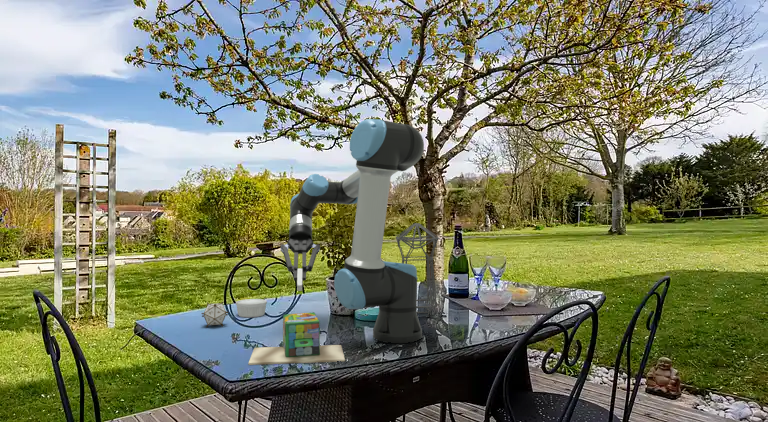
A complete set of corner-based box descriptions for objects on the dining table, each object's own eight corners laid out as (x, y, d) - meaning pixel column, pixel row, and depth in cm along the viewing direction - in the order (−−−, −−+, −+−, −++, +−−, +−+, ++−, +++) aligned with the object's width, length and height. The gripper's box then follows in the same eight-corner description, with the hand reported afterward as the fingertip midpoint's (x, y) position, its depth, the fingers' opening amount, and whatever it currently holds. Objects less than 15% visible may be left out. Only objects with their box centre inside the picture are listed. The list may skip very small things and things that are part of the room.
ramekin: (238, 312, 185) (238, 298, 185) (268, 312, 186) (268, 298, 186) (232, 318, 173) (233, 304, 174) (264, 318, 175) (264, 303, 175)
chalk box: (314, 311, 138) (322, 322, 124) (315, 344, 138) (322, 358, 124) (282, 313, 136) (286, 325, 122) (282, 346, 136) (286, 361, 121)
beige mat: (341, 346, 138) (341, 344, 138) (344, 361, 124) (344, 359, 124) (254, 349, 134) (254, 347, 134) (248, 364, 120) (248, 362, 120)
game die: (217, 338, 160) (217, 318, 154) (195, 327, 161) (195, 307, 156) (233, 320, 167) (234, 300, 161) (212, 310, 169) (212, 290, 163)
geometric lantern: (441, 320, 174) (440, 223, 174) (397, 321, 174) (396, 224, 174) (436, 311, 190) (434, 222, 190) (396, 311, 190) (394, 222, 189)
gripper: (319, 238, 166) (320, 295, 150) (281, 238, 164) (278, 295, 148) (320, 223, 161) (321, 280, 145) (280, 223, 159) (277, 280, 142)
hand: (299, 288), depth 146 cm, fingers closed
